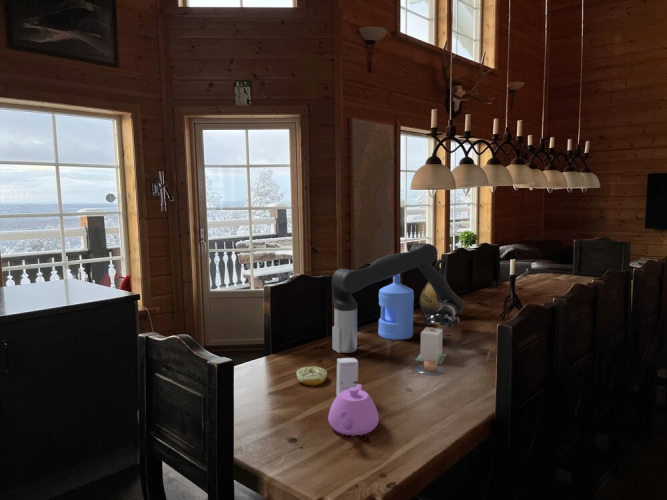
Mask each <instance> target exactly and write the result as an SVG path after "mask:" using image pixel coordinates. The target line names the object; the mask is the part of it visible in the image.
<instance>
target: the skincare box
mask: <svg viewBox="0 0 667 500" xmlns="http://www.w3.org/2000/svg"><path fill="white" fill-rule="evenodd" d="M358 384H359V361H358V359H356V357H343V358H342V357H341V358H336V388H335V389H336V392H335V393H336V397H337V396H338V395H339V393H340V392H342V391H344V390H348V389H349V388H352V387H356V386H357V385H358Z"/></svg>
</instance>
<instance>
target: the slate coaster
mask: <svg viewBox="0 0 667 500" xmlns="http://www.w3.org/2000/svg"><path fill="white" fill-rule="evenodd" d="M414 371H416V372H417V373H418V374H421V375H425V376H433V377H434V376H441V375H445V374H446V373H447V370H446V369H445V368H444V367H442V366H440V365H437V371H436V372H427V371H424V364H420V365H417V366H416V367H414Z"/></svg>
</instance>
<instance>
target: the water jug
mask: <svg viewBox="0 0 667 500" xmlns="http://www.w3.org/2000/svg"><path fill="white" fill-rule="evenodd" d="M392 281H393V282H392V283H390V284H388V285H385V286H383V287H381V288H380V289H379V291H378V300H379V301H378V305H379V306H380V318H379V319H378V329H377V330H378V331H377V332H378V335H379V337H381V338H383V339H386V340H393V341H394V340H395V341H396V340H397V341H398V340H409V339H411V338H412V337H413V336H414V314H415V312H414V300H415V295H414V290H413V289H412V288H410V287H408V286H407V285H404V284H402V283H401V273H400V274H398V275H395V276H393V278H392Z"/></svg>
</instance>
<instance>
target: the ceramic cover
mask: <svg viewBox="0 0 667 500" xmlns="http://www.w3.org/2000/svg"><path fill="white" fill-rule="evenodd" d="M443 329H444V328H438V327H436V328H435V327H432V326H431V327H430V326H425V327H424V329H423V330H422V331H421V332H420V351H419V352H420V353H419V354H420V360H435V361H437V362H438V360H439V359H440V357H441V356H442V354H443V332H444V330H443Z"/></svg>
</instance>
